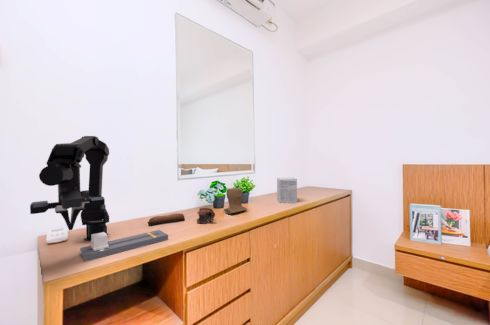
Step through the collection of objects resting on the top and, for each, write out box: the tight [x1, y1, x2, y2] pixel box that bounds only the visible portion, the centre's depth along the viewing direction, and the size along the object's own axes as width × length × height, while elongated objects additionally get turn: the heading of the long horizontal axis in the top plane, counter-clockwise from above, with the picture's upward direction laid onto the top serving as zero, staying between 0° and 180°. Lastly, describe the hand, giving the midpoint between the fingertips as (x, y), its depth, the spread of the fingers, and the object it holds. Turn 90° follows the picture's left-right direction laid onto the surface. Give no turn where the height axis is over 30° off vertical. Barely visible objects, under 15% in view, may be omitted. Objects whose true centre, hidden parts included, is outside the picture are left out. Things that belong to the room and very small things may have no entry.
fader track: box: [79, 229, 169, 262], centre depth 85 cm, size 28×9×2 cm, turn 133°
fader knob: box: [89, 232, 109, 251], centre depth 79 cm, size 4×6×4 cm
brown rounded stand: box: [223, 187, 248, 215], centre depth 138 cm, size 15×12×15 cm
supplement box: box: [276, 177, 298, 204], centre depth 171 cm, size 13×13×18 cm
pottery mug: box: [196, 207, 216, 224], centre depth 117 cm, size 12×10×8 cm
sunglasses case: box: [147, 212, 185, 226], centre depth 118 cm, size 18×7×7 cm
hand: (70, 229), depth 74 cm, fingers closed
